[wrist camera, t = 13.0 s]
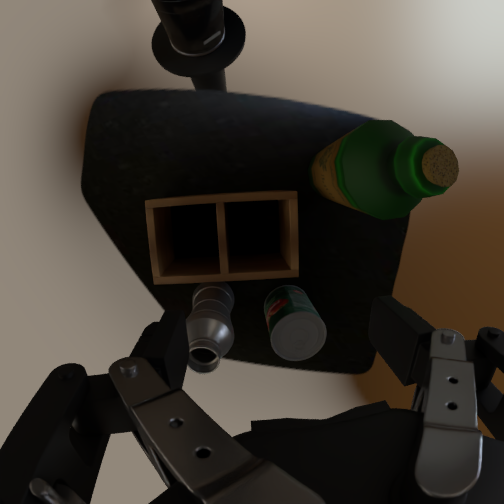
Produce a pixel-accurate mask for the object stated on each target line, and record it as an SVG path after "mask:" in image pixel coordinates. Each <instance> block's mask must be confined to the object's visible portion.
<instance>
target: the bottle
mask: <svg viewBox="0 0 504 504" xmlns="http://www.w3.org/2000/svg"><path fill="white" fill-rule="evenodd" d="M458 172H459V168H458V161H457V158H456V156H455V154H454V152H453V151H452V150H451V149H450V148H449V147H447V146H446V145H444V144H443V143H441V142H440V141H439V140H437V139H436V138H429V137H422V136H418V137H417V136H414V135H413V134H412V133H411V132H410V131H408V130H407V129H405V128H403V127H402V126H400V125H399V124H397V123H395V122H393V121H392V120H369V121H367V122H366V123H364V124H362V125H361V126H359V127H357V128H356V129H354V130H353V131H351V132H349V133H348V134H346V135H344V136H343V137H341V138H340V139H338V140H337V141H335V142H333V143H332V144H330V145H329V146H327V147H325V148H324V149H322V150H321V151H320V152H318V153H317V154H316V155H315V156H313V157H312V159H311V162H310V165H309V167H308V177H309V183H310V185H311V186H312V188H313V189H314V190H315V192H316V193H317V194H318V195H319V196H321V197H324V198H326V199H328V200H331V201H333V202H336V203H339V204H342V205H345V206H347V207H350V208H353V209H355V210H358V211H361V212H363V213H366V214H369V215H371V216H374V217H376V218H379V219H381V220H387V219H393V218H400V217H405V216H406V215H407V214H408V213H409V212H410V211H411V210H412V209H413V208H414V207H415V206H416V205H417V204H419V203H420V202H421V200H422V198H426V197H431V196H436V195H440V194H443V193H444V192H445V191H446V190H447V189H448V188H449V187H450V186H452V185H453V183H454V182H455V181H456V180H457V176H458Z"/></svg>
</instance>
